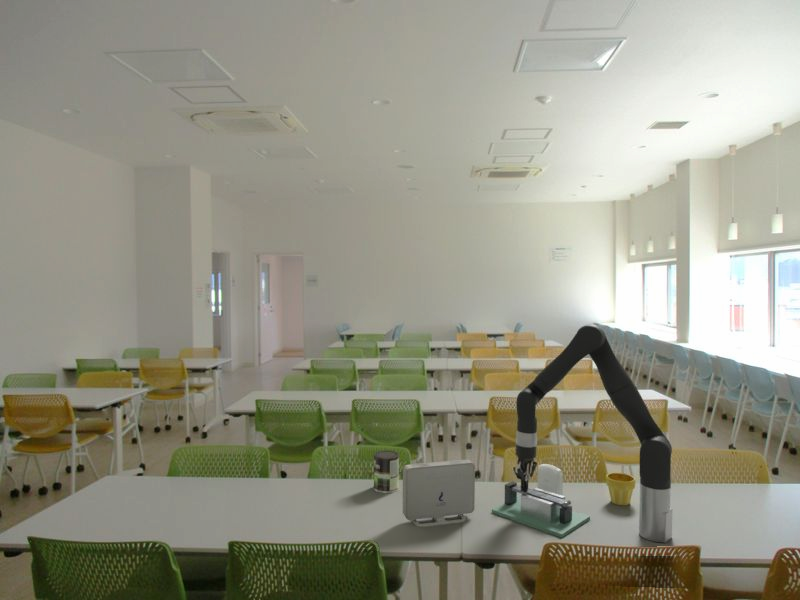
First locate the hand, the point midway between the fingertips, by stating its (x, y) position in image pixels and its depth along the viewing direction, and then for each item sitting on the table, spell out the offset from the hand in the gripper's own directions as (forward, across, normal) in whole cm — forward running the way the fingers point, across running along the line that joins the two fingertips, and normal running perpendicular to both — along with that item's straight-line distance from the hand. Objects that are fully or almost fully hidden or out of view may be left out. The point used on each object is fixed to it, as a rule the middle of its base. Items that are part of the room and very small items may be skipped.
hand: (524, 489), depth 204 cm
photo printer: (+8, +19, 0) cm, 21 cm away
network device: (+9, -28, +17) cm, 34 cm away
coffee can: (+10, -21, +51) cm, 56 cm away
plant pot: (+7, +33, -22) cm, 40 cm away
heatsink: (+7, 0, -6) cm, 9 cm away
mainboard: (+8, 0, -7) cm, 10 cm away
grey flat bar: (+1, 0, -7) cm, 7 cm away
